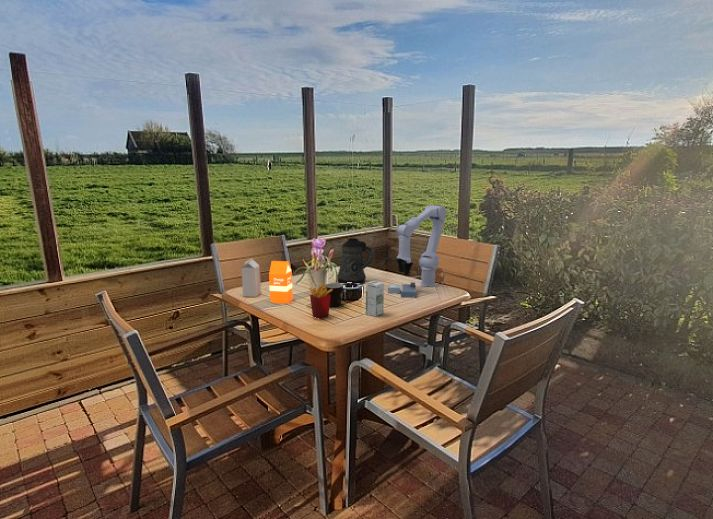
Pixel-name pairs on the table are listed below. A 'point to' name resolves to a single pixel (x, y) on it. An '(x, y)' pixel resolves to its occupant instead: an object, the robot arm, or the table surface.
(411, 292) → the network switch box
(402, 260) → the robot arm
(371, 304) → the syrup box
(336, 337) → the table surface
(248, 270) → the milk carton
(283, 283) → the orange juice
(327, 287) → the coffee mug
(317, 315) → the french fries
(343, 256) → the beer stein
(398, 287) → the light blue box
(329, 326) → the table surface
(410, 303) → the table surface
